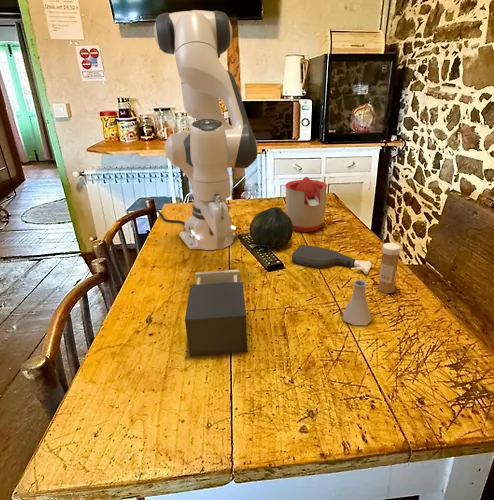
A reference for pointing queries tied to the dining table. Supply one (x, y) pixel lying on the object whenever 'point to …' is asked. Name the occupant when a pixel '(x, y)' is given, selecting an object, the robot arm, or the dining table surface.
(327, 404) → the dining table surface
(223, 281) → the tray
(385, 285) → the sprinkles bottle
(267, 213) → the squash
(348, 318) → the flask
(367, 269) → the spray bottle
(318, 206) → the citrus juicer
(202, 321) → the dark grey box
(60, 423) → the dining table surface
